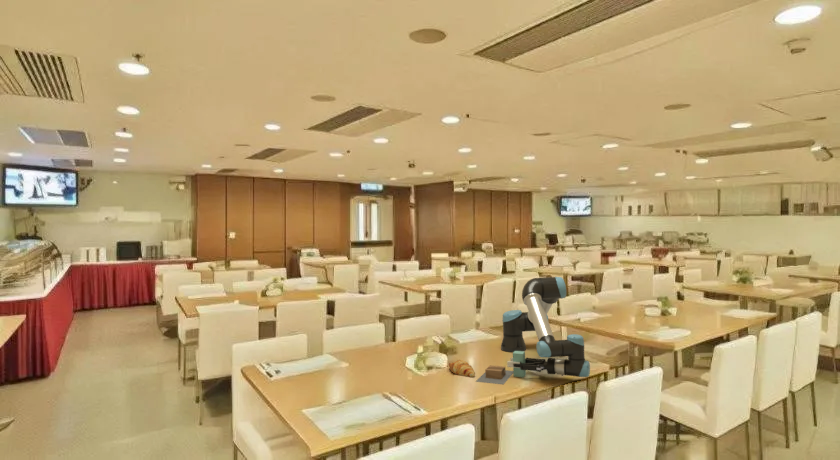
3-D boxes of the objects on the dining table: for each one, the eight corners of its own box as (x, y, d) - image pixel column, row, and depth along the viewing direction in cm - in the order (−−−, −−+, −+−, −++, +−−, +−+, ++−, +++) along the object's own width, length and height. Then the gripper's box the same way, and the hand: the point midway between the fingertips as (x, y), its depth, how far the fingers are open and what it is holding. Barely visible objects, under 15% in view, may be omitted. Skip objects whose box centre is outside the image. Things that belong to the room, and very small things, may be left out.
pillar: (516, 374, 236) (515, 350, 236) (525, 375, 234) (524, 351, 234) (513, 377, 231) (512, 353, 231) (523, 378, 229) (522, 354, 229)
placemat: (488, 369, 246) (488, 368, 246) (514, 371, 240) (514, 371, 240) (475, 382, 226) (475, 381, 226) (503, 385, 220) (503, 384, 220)
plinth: (490, 373, 238) (490, 365, 238) (505, 374, 235) (505, 366, 235) (485, 377, 231) (485, 369, 231) (501, 379, 228) (500, 371, 228)
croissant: (478, 384, 234) (484, 368, 236) (464, 378, 229) (470, 362, 231) (453, 373, 252) (458, 359, 254) (440, 367, 247) (445, 353, 249)
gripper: (552, 380, 216) (504, 375, 226) (559, 368, 233) (514, 364, 243) (552, 364, 216) (503, 359, 226) (558, 353, 233) (513, 350, 243)
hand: (509, 362), depth 235 cm, fingers open, 6 cm apart
